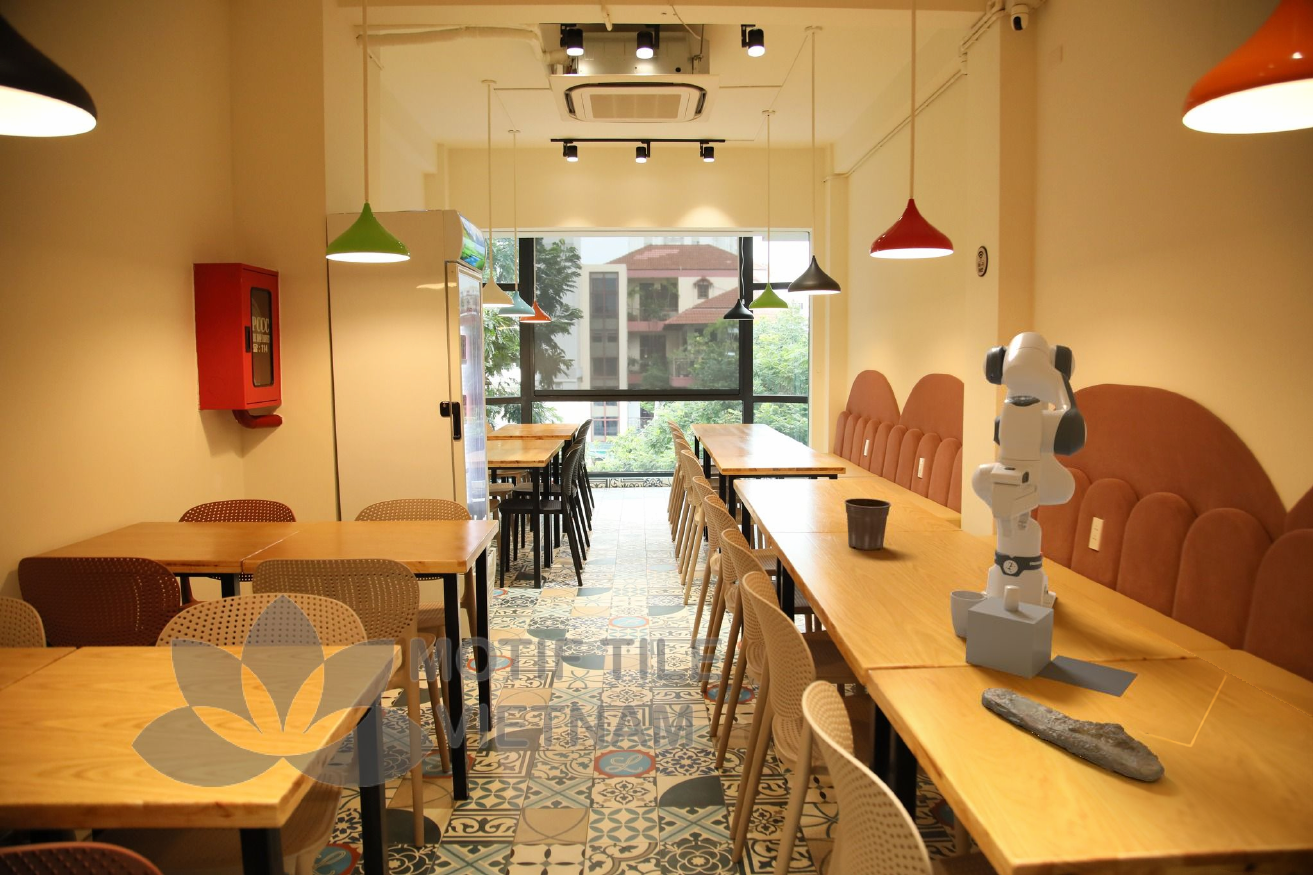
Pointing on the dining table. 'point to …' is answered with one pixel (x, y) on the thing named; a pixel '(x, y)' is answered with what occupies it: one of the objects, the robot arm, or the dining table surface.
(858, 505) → the plant pot
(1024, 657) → the cover
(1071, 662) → the mat
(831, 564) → the dining table surface
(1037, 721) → the elongated rock
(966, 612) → the cup
